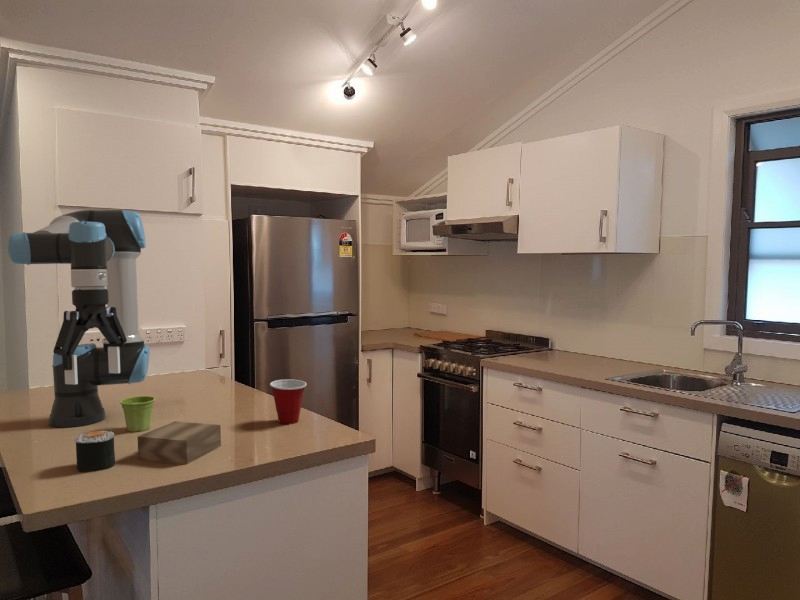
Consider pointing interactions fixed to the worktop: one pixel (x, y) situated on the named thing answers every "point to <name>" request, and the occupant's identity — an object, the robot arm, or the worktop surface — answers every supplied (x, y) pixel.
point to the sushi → (95, 451)
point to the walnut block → (179, 442)
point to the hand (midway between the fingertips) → (94, 378)
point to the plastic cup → (288, 399)
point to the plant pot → (138, 412)
